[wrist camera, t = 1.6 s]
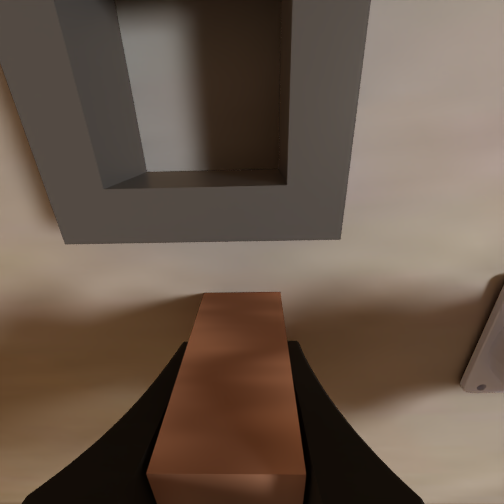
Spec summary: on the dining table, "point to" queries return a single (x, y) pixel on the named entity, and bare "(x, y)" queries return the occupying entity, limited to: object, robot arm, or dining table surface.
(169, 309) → the dining table surface
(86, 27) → the socket
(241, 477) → the peg
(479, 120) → the dining table surface
